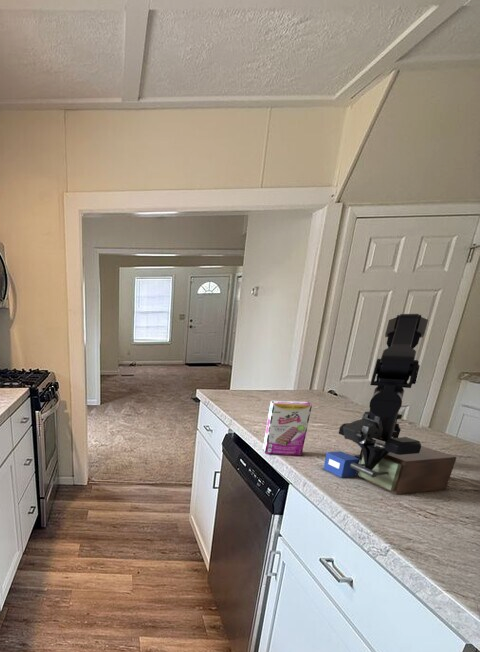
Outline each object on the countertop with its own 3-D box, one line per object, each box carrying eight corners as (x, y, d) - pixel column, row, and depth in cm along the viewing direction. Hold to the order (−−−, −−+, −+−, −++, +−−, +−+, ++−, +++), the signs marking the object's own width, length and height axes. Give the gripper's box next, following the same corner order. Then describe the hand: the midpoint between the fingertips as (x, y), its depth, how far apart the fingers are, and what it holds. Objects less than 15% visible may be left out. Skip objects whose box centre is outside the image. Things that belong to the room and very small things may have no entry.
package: (323, 468, 115) (326, 452, 113) (337, 467, 116) (340, 451, 114) (341, 477, 109) (345, 460, 107) (355, 476, 109) (360, 459, 108)
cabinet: (395, 494, 98) (405, 461, 95) (359, 477, 109) (366, 447, 106) (445, 489, 101) (457, 456, 97) (405, 472, 111) (413, 443, 108)
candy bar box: (265, 454, 128) (272, 403, 121) (262, 449, 132) (269, 400, 126) (302, 456, 125) (312, 404, 119) (298, 451, 130) (308, 400, 124)
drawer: (373, 492, 98) (380, 465, 95) (342, 476, 107) (347, 452, 104) (436, 485, 101) (445, 460, 98) (400, 471, 110) (407, 447, 107)
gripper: (326, 403, 103) (314, 460, 108) (388, 420, 86) (370, 487, 91) (364, 401, 104) (350, 457, 110) (432, 417, 87) (412, 483, 93)
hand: (368, 470), depth 101 cm, fingers closed
